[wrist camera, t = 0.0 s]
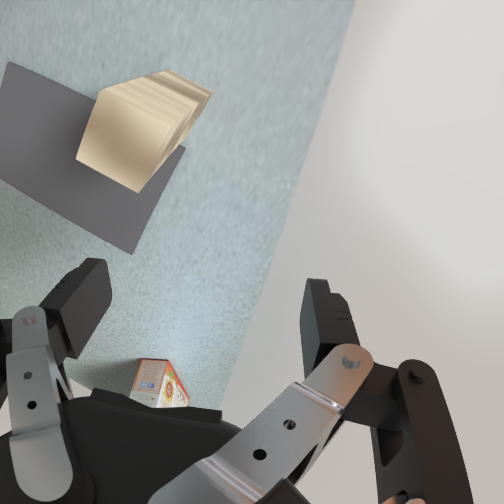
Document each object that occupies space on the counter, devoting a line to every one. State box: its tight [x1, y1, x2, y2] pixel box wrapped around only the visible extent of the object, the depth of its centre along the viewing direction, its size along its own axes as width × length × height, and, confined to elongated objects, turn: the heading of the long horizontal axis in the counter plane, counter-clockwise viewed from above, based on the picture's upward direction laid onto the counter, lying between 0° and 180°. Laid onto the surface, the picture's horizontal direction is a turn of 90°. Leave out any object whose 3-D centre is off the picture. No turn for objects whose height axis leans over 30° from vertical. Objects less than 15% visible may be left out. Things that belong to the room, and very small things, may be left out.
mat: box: [0, 62, 186, 255], centre depth 32 cm, size 16×26×1 cm, turn 58°
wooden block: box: [76, 70, 213, 193], centre depth 23 cm, size 5×5×14 cm
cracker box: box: [129, 359, 189, 408], centre depth 49 cm, size 14×6×21 cm, turn 6°
